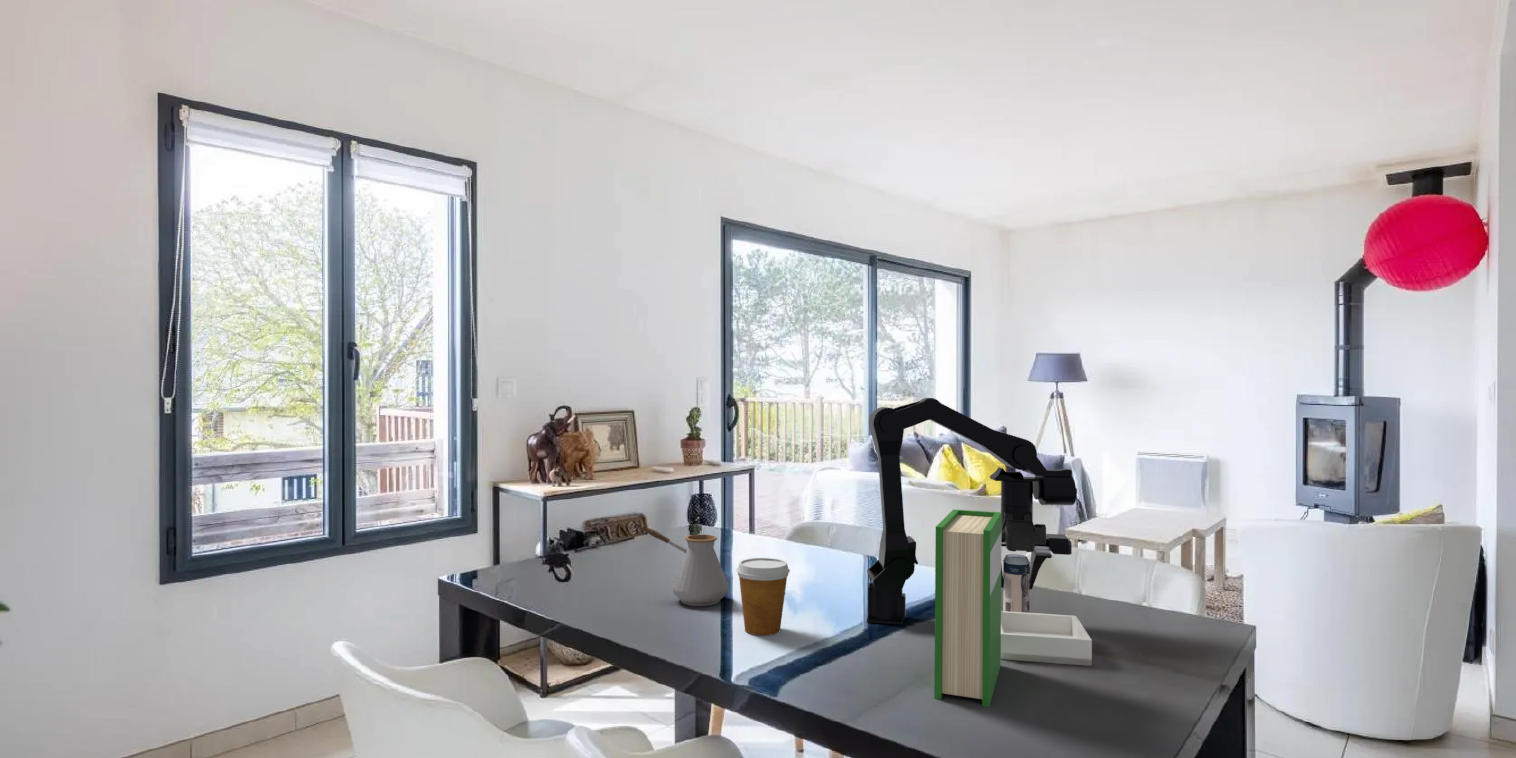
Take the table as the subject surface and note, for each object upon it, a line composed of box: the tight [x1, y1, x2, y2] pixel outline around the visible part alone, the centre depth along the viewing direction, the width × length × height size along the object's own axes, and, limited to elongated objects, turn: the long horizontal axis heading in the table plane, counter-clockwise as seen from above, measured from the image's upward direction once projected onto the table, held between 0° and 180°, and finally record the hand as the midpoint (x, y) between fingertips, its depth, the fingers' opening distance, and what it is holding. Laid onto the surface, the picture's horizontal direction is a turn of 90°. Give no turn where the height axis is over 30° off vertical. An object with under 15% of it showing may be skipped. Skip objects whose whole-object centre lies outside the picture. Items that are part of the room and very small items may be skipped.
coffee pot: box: [630, 521, 730, 607], centre depth 165 cm, size 21×12×15 cm, turn 70°
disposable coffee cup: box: [736, 557, 791, 636], centre depth 144 cm, size 10×10×12 cm
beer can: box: [1002, 553, 1031, 613], centre depth 151 cm, size 5×5×12 cm
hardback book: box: [933, 508, 1002, 708], centre depth 120 cm, size 18×7×24 cm, turn 158°
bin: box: [1001, 610, 1093, 667], centre depth 135 cm, size 14×14×4 cm
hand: (1016, 588), depth 151 cm, fingers closed on beer can, 5 cm apart
